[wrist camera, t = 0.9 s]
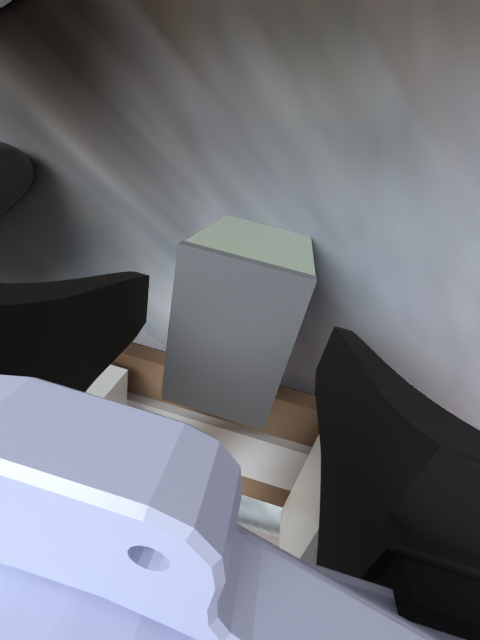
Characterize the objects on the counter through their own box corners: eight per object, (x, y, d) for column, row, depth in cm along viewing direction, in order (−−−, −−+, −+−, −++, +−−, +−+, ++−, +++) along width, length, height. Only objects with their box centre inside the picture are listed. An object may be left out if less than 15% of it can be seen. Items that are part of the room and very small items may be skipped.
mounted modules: (398, 449, 16) (435, 558, 11) (341, 531, 20) (352, 635, 15) (60, 348, 17) (-25, 412, 13) (69, 443, 21) (6, 517, 16)
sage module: (311, 236, 14) (317, 280, 8) (276, 345, 16) (263, 430, 11) (226, 214, 14) (178, 243, 9) (205, 325, 17) (160, 398, 11)
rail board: (418, 425, 17) (430, 452, 15) (356, 513, 21) (360, 541, 20) (58, 320, 18) (35, 335, 17) (68, 423, 23) (50, 442, 21)
